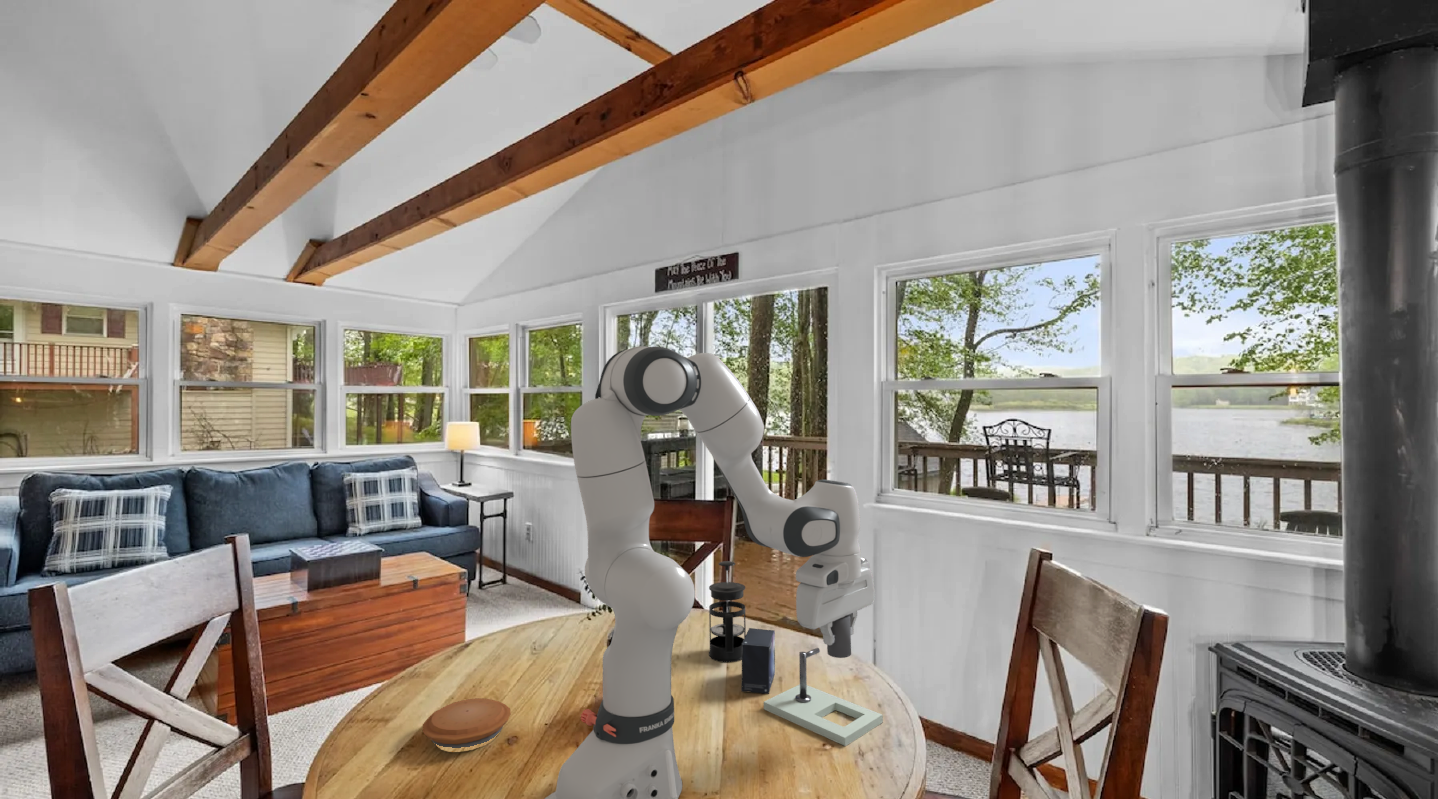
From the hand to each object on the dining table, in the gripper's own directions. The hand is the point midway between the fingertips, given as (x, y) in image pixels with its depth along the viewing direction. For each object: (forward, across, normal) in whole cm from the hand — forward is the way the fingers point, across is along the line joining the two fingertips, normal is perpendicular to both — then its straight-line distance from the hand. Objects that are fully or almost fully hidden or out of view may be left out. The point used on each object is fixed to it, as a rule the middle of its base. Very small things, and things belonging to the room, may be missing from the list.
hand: (838, 639), depth 121 cm
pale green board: (+18, -3, -7) cm, 19 cm away
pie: (+17, +50, -49) cm, 72 cm away
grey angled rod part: (+16, -5, -12) cm, 21 cm away
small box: (+18, -5, -26) cm, 32 cm away
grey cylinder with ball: (+3, 0, 0) cm, 3 cm away
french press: (+18, -11, -42) cm, 47 cm away
